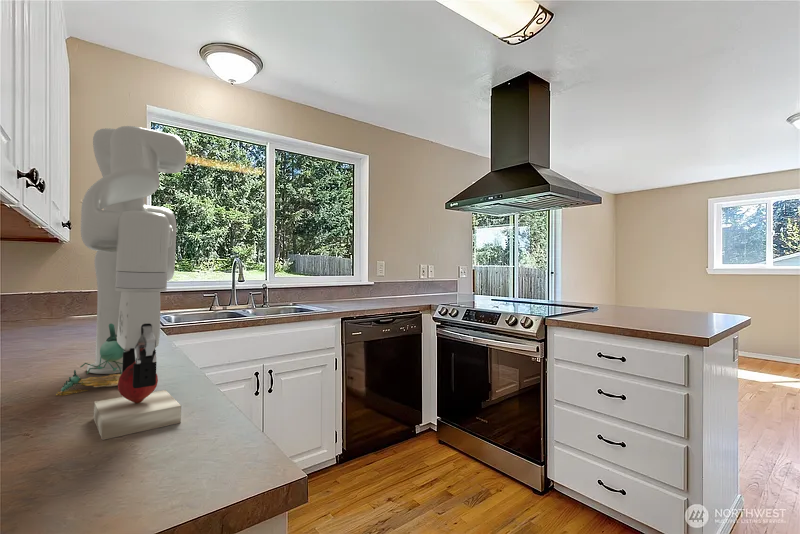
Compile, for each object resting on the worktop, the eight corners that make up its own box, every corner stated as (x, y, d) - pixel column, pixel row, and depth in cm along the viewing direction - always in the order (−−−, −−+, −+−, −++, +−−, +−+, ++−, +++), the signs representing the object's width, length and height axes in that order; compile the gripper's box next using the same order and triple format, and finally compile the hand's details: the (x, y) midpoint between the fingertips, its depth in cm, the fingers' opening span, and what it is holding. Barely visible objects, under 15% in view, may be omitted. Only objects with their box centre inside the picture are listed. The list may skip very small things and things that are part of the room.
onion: (137, 410, 66) (138, 362, 66) (108, 407, 67) (110, 359, 67) (164, 399, 71) (166, 355, 71) (137, 396, 73) (139, 352, 73)
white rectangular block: (93, 418, 69) (94, 401, 69) (164, 405, 77) (165, 389, 77) (102, 440, 61) (102, 420, 61) (180, 422, 69) (181, 405, 69)
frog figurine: (48, 389, 84) (61, 319, 86) (144, 382, 97) (154, 322, 99) (55, 399, 78) (68, 324, 79) (157, 391, 91) (167, 326, 92)
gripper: (108, 279, 73) (104, 371, 73) (124, 285, 60) (120, 397, 60) (155, 279, 78) (151, 365, 78) (179, 285, 65) (175, 388, 65)
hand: (138, 379), depth 69 cm, fingers open, 9 cm apart
